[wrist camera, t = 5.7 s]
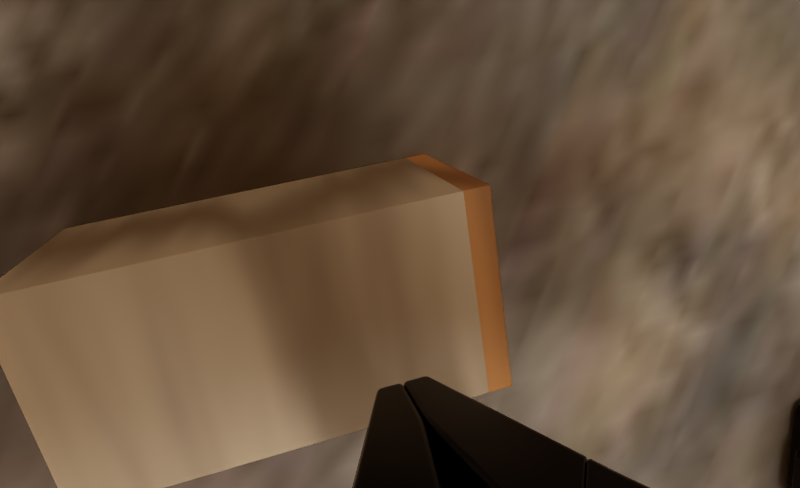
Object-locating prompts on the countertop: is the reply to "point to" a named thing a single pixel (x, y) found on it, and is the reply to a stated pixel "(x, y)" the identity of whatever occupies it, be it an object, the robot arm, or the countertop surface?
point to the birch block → (251, 321)
